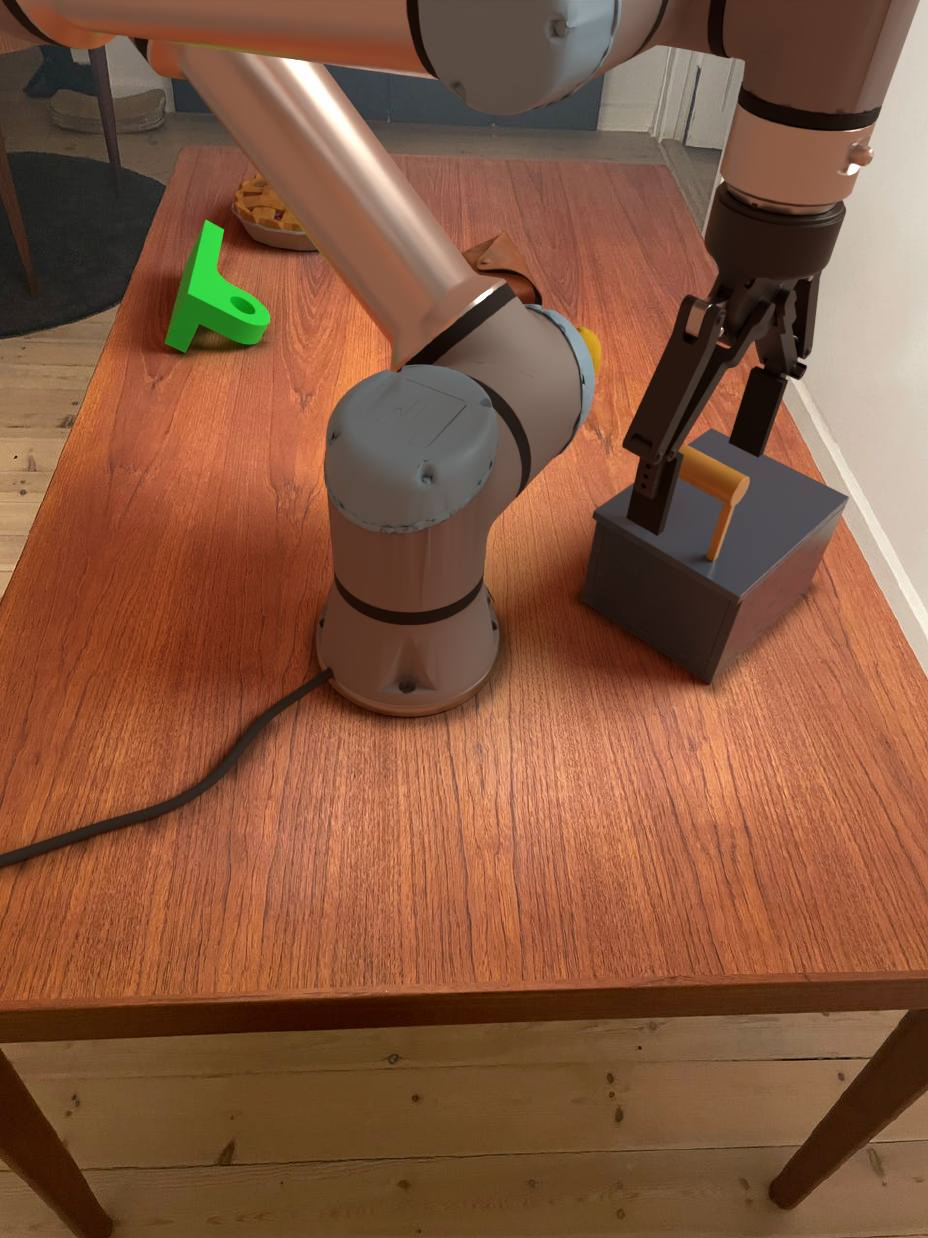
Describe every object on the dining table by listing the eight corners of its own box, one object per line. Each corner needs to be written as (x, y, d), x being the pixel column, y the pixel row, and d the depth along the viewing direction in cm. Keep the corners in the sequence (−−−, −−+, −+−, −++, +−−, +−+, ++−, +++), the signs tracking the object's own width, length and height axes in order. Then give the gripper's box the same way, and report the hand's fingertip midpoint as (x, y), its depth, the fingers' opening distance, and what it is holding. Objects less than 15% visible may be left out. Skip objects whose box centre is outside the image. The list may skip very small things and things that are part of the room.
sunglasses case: (451, 252, 129) (477, 210, 125) (490, 275, 132) (516, 234, 129) (479, 314, 117) (509, 269, 113) (522, 337, 120) (552, 294, 117)
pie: (376, 260, 127) (375, 224, 123) (218, 251, 126) (213, 214, 123) (389, 199, 142) (389, 165, 138) (249, 190, 141) (245, 156, 138)
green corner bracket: (243, 381, 110) (268, 334, 106) (164, 344, 106) (187, 293, 102) (254, 301, 124) (277, 257, 120) (184, 265, 120) (206, 218, 116)
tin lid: (736, 605, 68) (771, 514, 62) (591, 518, 74) (609, 428, 68) (846, 504, 77) (885, 416, 71) (709, 434, 83) (734, 348, 77)
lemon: (561, 372, 109) (570, 309, 103) (603, 387, 107) (614, 324, 101) (540, 393, 105) (548, 329, 100) (583, 408, 104) (593, 344, 98)
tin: (710, 685, 75) (742, 600, 68) (580, 600, 82) (597, 514, 75) (808, 588, 84) (846, 504, 77) (684, 518, 91) (709, 435, 83)
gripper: (722, 275, 44) (640, 589, 59) (934, 159, 57) (823, 440, 73) (600, 226, 48) (552, 535, 63) (827, 126, 61) (742, 402, 76)
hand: (697, 484), depth 68 cm, fingers open, 13 cm apart
